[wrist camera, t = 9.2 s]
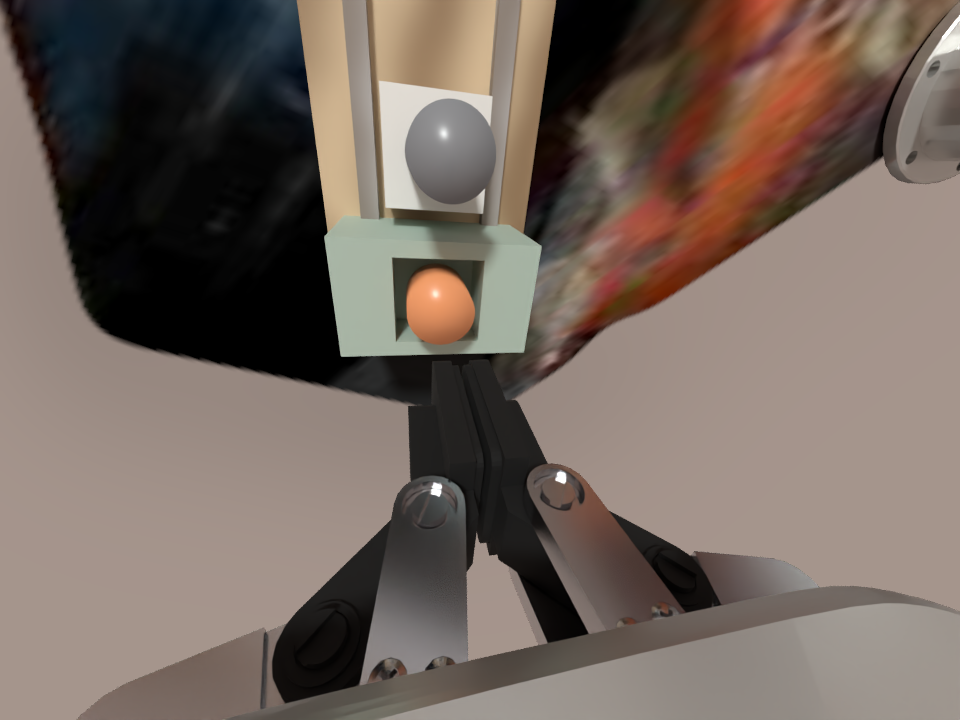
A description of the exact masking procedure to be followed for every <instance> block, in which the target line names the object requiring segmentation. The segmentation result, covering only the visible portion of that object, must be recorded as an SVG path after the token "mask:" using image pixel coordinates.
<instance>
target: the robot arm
mask: <svg viewBox="0 0 960 720" xmlns="http://www.w3.org/2000/svg"><path fill="white" fill-rule="evenodd" d="M883 155H884V160H885V164H886V167H887V168H888V170H889V172H890V174H891V175H892V176H894V177H895V178H896V179H897V180H900V181H903V182H907V183H920V184H930V183H936V182H940V181H943V180H946V179H949V178H951V177H954V176H956V175H957V174H959V173H960V1H959V2H958V3H957V4H956V5H955V6H954V7H953V8H952V9H951V10H950V12H949V13H948V14H947V15H946V16H945V17H944V19H943V20H942V21H941V22H940V23H939V25H938V26H937V27H936V28H935V29H934V30H933V32H932V33H931V35H930V36H929V37H928V39H927V40H926V42H925V43H924V45H923V46H922V47H921V49H920V50H919V52H918V53H917V55H916V56H915V58H914V60H913V61H912V63H911V65H910V67H909V68H908V70H907V72H906V73H905V75H904V77H903V79H902V81H901V84H900V86H899V88H898V90H897V92H896V94H895V96H894V99H893V102H892V105H891V108H890V111H889V113H888V116H887V120H886V125H885V130H884V135H883ZM408 415H409V448H410V478H411V482H409V483H408V484H406V485H405V486H404V487H403V488H402V489H401V491H400V492H399V493H398V495H397V498H396V500H395V503H394V507H393V512H392V518H391V520H390V521H389V522H388V523H387V524H386V525H385V526H384V527H383V528H382V529H381V530H380V531H379V532H378V533H377V534H376V535H375V536H374V537H373V538H372V539H371V540H370V541H369V542H368V543H367V544H366V545H365V546H364V547H363V548H362V549H361V550H360V551H359V552H358V553H357V554H356V555H354V556H353V557H352V558H351V559H350V560H349V561H348V562H347V563H346V564H345V565H344V566H343V567H342V568H341V569H340V570H339V571H338V572H337V573H336V574H335V575H334V576H333V577H332V578H331V579H330V580H329V581H328V582H327V583H326V584H325V585H324V586H323V587H322V588H321V589H320V590H319V591H318V592H317V593H316V594H315V595H314V596H313V597H311V599H309V601H307V602H306V604H304V605H303V607H301V608H300V609H299V610H298V611H297V612H296V613H295V615H294V616H293V617H292V618H291V620H290V621H289V622H288V623H287V624H284V625H282V626H279V627H277V628H275V629H272V630H270V631H267V632H266V630H265V628H261V629H258V630H256V631H253V632H251V633H249V634H246V635H244V636H241V637H239V638H236V639H234V640H231V641H229V642H227V643H224V644H222V645H219V646H217V647H214V648H212V649H209V650H207V651H204V652H202V653H199V654H197V655H194V656H192V657H190V658H187V659H185V660H182V661H180V662H177V663H175V664H173V665H170V666H167V667H165V668H163V669H160V670H158V671H155V672H153V673H150V674H148V675H145V676H143V677H140V678H138V679H135V680H133V681H130V682H128V683H126V684H124V685H122V686H120V687H119V688H117V689H115V690H113V691H112V692H109V693H108V694H106V695H104V696H103V697H101V698H100V699H99V700H98V701H97V702H96V703H94V704H93V705H92V706H91V707H90V708H88V709H87V710H86V711H85V712H84V713H83V714H81V715H80V716H79V718H78V719H77V720H960V611H957V610H955V609H952V608H950V607H947V606H944V605H941V604H938V603H935V602H931V601H928V600H925V599H921V598H918V597H913V596H909V595H905V594H901V593H896V592H893V591H886V590H881V589H875V588H868V587H858V586H829V587H819V586H818V585H817V584H816V583H815V582H814V581H813V580H812V579H811V578H810V577H809V576H807V575H806V574H805V573H803V572H802V571H801V570H800V569H798V568H796V567H795V566H793V565H791V564H789V563H787V562H785V561H781V560H776V559H773V558H762V557H752V556H741V555H730V554H720V553H709V552H698V551H694V552H693V554H692V555H691V556H690V555H688V554H687V553H685V552H684V551H682V550H681V549H679V548H677V547H676V546H674V545H672V544H670V543H669V542H667V541H665V540H663V539H661V538H659V537H657V536H655V535H653V534H652V533H650V532H648V531H646V530H644V529H642V528H640V527H639V526H637V525H635V524H633V523H631V522H629V521H627V520H625V519H623V518H622V517H619V516H618V515H616V514H614V513H612V512H610V511H609V510H608V509H607V508H606V507H605V505H604V504H603V503H602V501H601V500H600V499H599V497H598V496H597V495H596V493H595V492H594V491H593V489H592V488H591V487H590V485H589V484H588V483H587V482H586V480H585V479H584V478H583V477H581V475H580V474H578V473H577V472H575V471H574V470H572V469H571V468H568V467H566V466H563V465H558V464H548V463H547V461H546V459H545V457H544V455H543V453H542V451H541V449H540V447H539V445H538V443H537V440H536V438H535V436H534V434H533V432H532V430H531V428H530V426H529V424H528V422H527V420H526V417H525V415H524V413H523V411H522V409H521V407H520V405H519V403H518V402H517V401H516V400H508V401H506V399H505V397H504V395H503V392H502V390H501V388H500V385H499V383H498V381H497V378H496V376H495V374H494V372H493V369H492V367H491V365H490V362H489V360H470V361H469V365H463V367H462V377H461V373H460V370H459V366H458V365H452V362H451V361H432V397H431V405H421V406H408ZM476 532H477V534H478V539H479V542H480V543H487V548H488V552H489V555H496V554H497V555H498V559H499V560H500V561H502V562H503V563H504V564H506V565H508V566H509V572H510V576H511V579H512V582H513V584H514V586H515V589H516V591H517V594H518V596H519V598H520V601H521V604H522V606H523V608H524V611H525V613H526V616H527V618H528V621H529V623H530V625H531V627H532V630H533V633H534V635H535V638H536V640H537V642H538V646H534V647H529V648H524V649H521V650H516V651H511V652H506V653H502V654H497V655H493V656H489V657H484V658H480V659H475V660H471V661H468V637H467V636H468V634H467V633H468V631H467V577H466V575H467V571H468V569H469V568H470V566H471V565H472V563H473V556H474V547H475V540H476Z"/></svg>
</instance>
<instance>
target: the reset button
mask: <svg viewBox="0 0 960 720" xmlns="http://www.w3.org/2000/svg"><path fill="white" fill-rule="evenodd" d="M406 305H407V320H408V324H409V326H410V328H411V330H412V331H413V332H414V334H415V335H416V336H417V337H419V338H420V339H421V340H423V341H425V342H428V343H431V344H436V345H444V344H449V343H453V342H455V341H457V340H459V339H461V338H462V337H463V336H464V335H465V334H466V333H467V332H468V331H469V330H470V328H471V326H472V324H473V322H474V318H475V307H474V303H473V301H472V298H471V296H470V294H469V292H468V290H467V288H466V286H465V284H464V282H463V280H462V278H461V276H460V275H459V274H458V272H457V271H455V270H454V269H453V268H451V267H449V266H447V265H444V264H439V263H432V264H427V265H424V266H422V267H420V268H419V269H417V270H416V271H415V272H414V273H413V274H412V275H411V277H410V279H409V281H408V283H407V287H406Z"/></svg>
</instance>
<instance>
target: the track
mask: <svg viewBox="0 0 960 720" xmlns="http://www.w3.org/2000/svg"><path fill="white" fill-rule="evenodd" d="M297 4H298V11H299V19H300V26H301V34H302V41H303V49H304V56H305V64H306V71H307V79H308V86H309V94H310V101H311V109H312V116H313V124H314V131H315V139H316V146H317V154H318V161H319V169H320V176H321V184H322V191H323V199H324V206H325V214H326V221H327V229H328V232H329V231H330V230H331V229H332V228H333V227H334V226H335V225H336V223H337V222H338V221H339V220H340V219H341V218H342V217H343V216H344V215H347V216H361V219H377V220H379V218H380V217H382V218H399V219H416V220H434V221H451V222H468V223H479V224H481V225H483V226H497V225H498V224H503V225H510V226H512V227H513V228H515V229H516V230H518V231H519V232H521V233H522V234H523V232H524V225H525V218H526V211H527V203H528V196H529V189H530V182H531V175H532V168H533V161H534V154H535V146H536V139H537V132H538V125H539V118H540V111H541V104H542V97H543V89H544V82H545V75H546V68H547V61H548V54H549V47H550V40H551V32H552V25H553V18H554V11H555V4H556V0H297ZM379 81H386V82H393V83H400V84H408V85H415V86H422V87H429V88H437V89H444V90H451V91H458V92H466V93H473V94H480V95H487V96H493V98H492V110H491V123H490V128H491V130H492V132H493V136H494V139H495V145H496V163H495V168H494V172H493V174H492V177H491V179H490V181H489V183H488V185H487V186H486V187H485V196H484V208H483V214H477V213H461V212H446V211H430V210H414V209H399V208H385V189H384V169H383V150H382V130H381V111H380V91H379Z"/></svg>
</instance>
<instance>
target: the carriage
mask: <svg viewBox="0 0 960 720" xmlns="http://www.w3.org/2000/svg"><path fill="white" fill-rule="evenodd" d="M379 91H380V111H381V130H382V150H383V169H384V189H385V208H399V209H414V210H430V211H446V212H461V213H477V214H483V208H484V196H485V187H486V186H487V185H488V183H489V181H490V179H491V177H492V174H493V172H494V168H495V163H496V145H495V139H494V136H493V132H492V130H491V128H490V123H491V110H492V98H493V96H487V95H480V94H473V93H466V92H458V91H451V90H444V89H437V88H429V87H422V86H415V85H408V84H400V83H393V82H386V81H379Z"/></svg>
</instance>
